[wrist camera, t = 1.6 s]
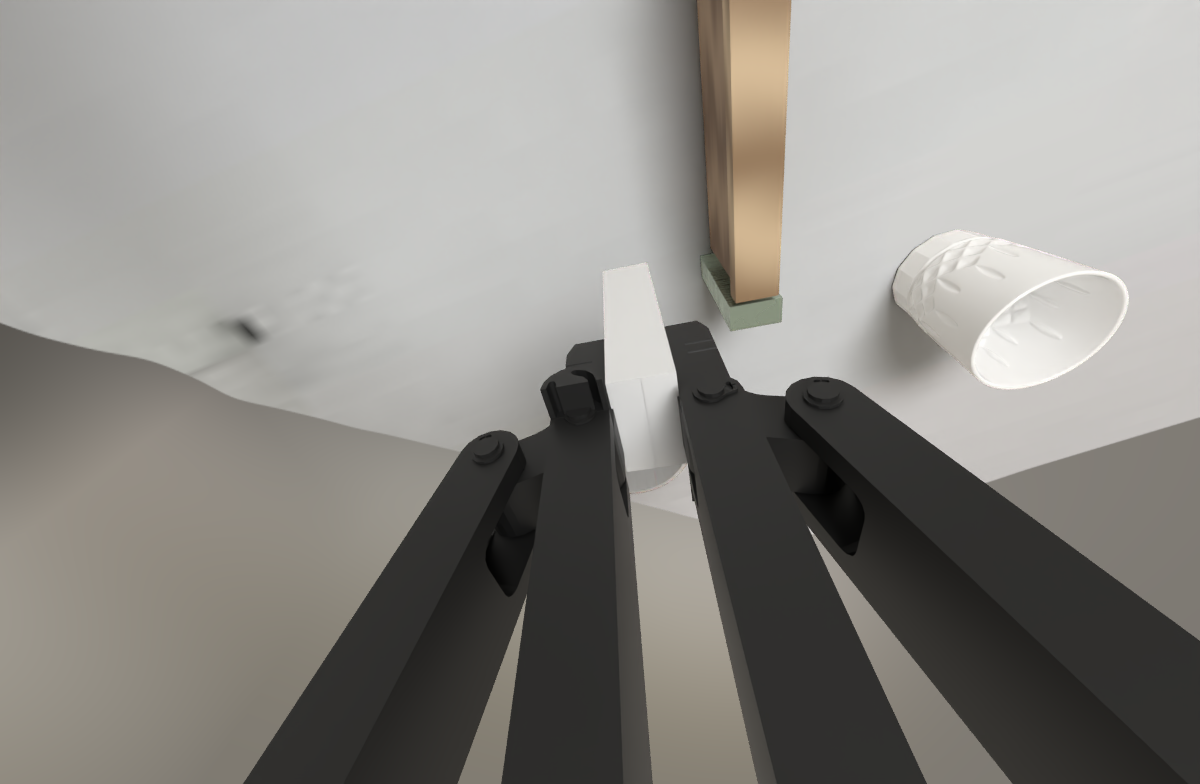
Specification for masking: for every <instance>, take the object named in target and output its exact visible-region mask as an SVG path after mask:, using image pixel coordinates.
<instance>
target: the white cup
mask: <svg viewBox="0 0 1200 784" xmlns="http://www.w3.org/2000/svg"><path fill="white" fill-rule="evenodd" d="M892 288H893V293H894V299H895V303H896V304H898V305H899V306H900V307H901V308H902V309H903V310H905V311H906V312H907V313H908V314H909V315H910V316H911V317H912V318H913V319H914V320H915V322H916V323H917V325H918V326H919V327H921V328H922V329H923V331H924V332H925V333H926V334H927V335H929V336H930V337H931V338H932V339H933V340H934V341H935V342H936V343H937V344H938V345H939V346H940V347H941V348H943V349H944V350H945V351H946V352H947V353H948V354H950V355H951V356H952V357H953V358H954V359H955V360H956V361H957V362H959V363H960V364H961V365H962V366H963V367H964V368H965V369H966V370H967V371H969V372H970V373H971V374H972V375H973V376H974V377H975V378H976V379H977V380H979V381H980V382H981V383H983V384H984V385H986V386H989V387H992V388H996V389H1004V390H1012V389H1022V388H1027V387H1031V386H1035V385H1039V384H1042V383H1045V382H1047V381H1050V380H1052V379H1055V378H1057V377H1059V376H1061V375H1063V374H1065V373H1067V372H1069V371H1071V370H1072V369H1074V368H1076V367H1077V366H1079V365H1080V364H1082V363H1083V362H1085V361H1086V360H1087V359H1089V358H1090V357H1091V356H1092V355H1094V354H1095V353H1096V352H1097V351H1098V350H1099V349H1101V348H1102V347H1103V346H1104V345H1105V344H1106V343H1107V341H1108V340H1109V339H1110V338H1111V337H1112V336H1113V334H1114V333H1115V332H1116V330H1117V329H1118V327H1119V326H1120V324H1121V322H1122V321H1123V319H1124V316H1125V314H1126V311H1127V308H1128V302H1129V296H1128V290H1127V288H1126V286H1125V284H1124V283H1123V281H1122V280H1121V279H1119V278H1118V277H1117V276H1115V275H1113V274H1111V273H1108V272H1105V271H1101V270H1098V269H1095V268H1092V267H1089V266H1086V265H1083V264H1080V263H1077V262H1074V261H1071V260H1068V259H1065V258H1062V257H1059V256H1056V255H1053V254H1050V253H1047V252H1044V251H1041V250H1037V249H1033V248H1030V247H1027V246H1023V245H1020V244H1016V243H1013V242H1010V241H1007V240H1003V239H1000V238H992V237H989V236H986V235H984V234H981V233H977V232H972V231H965V230H959V229H956V230H953V231H949V232H946V233H942V234H939V235H935V236H933V237H932V238H930V239H929V240H927V241H926V242H924V243H923V244H921V245H920V246H918V247H917V248H915V249H914V250H913V251H912V252H911V253H910V254H909V256H908V257H907V258H906V259H905V261H904V262H903V263H902V264H901V266H900V267H899V268H898V271H897V274H896V277H895V280H894V283H893V286H892Z"/></svg>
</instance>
